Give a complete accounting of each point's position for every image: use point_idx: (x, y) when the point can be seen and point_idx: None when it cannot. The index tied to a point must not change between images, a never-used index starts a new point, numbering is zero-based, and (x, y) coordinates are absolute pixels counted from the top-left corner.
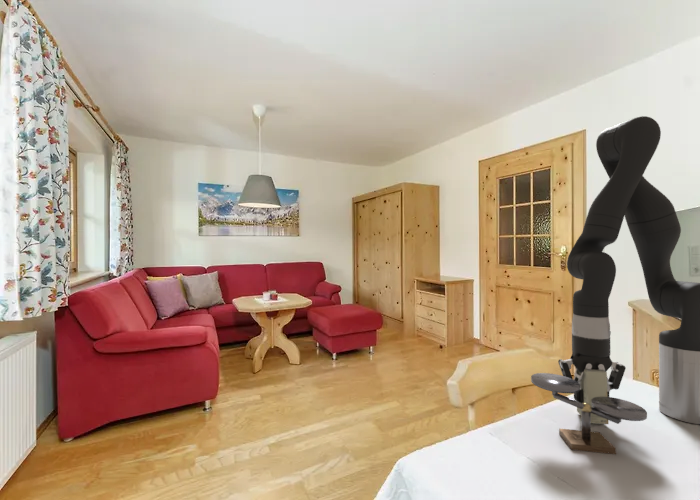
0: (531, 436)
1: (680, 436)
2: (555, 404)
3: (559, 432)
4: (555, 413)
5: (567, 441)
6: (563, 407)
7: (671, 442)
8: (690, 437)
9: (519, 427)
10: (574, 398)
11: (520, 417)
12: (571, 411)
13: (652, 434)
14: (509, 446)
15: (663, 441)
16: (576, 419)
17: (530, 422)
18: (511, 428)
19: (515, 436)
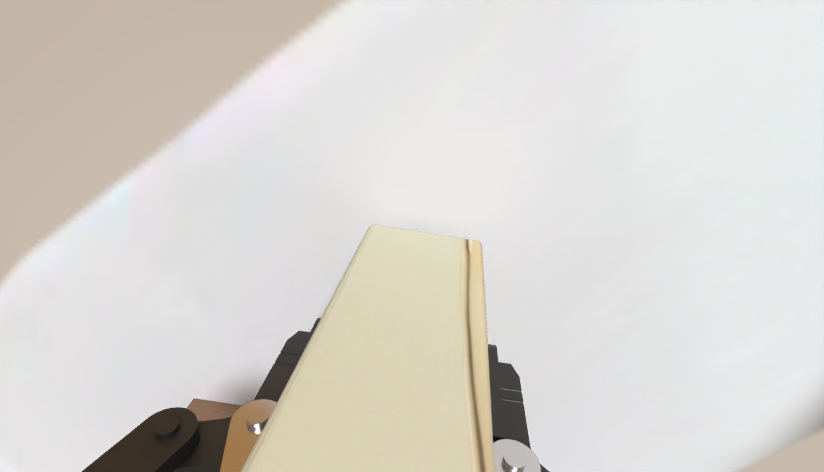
0: (80, 410)
1: (763, 419)
2: (287, 86)
3: (189, 406)
4: (239, 221)
5: None
6: (325, 133)
7: (652, 453)
8: (806, 426)
9: (36, 355)
10: (292, 339)
11: (41, 272)
12: (352, 190)
13: (632, 404)
14: (4, 456)
15: (622, 447)
16: (332, 283)
17: (86, 316)
18: (3, 362)
19: (21, 409)
